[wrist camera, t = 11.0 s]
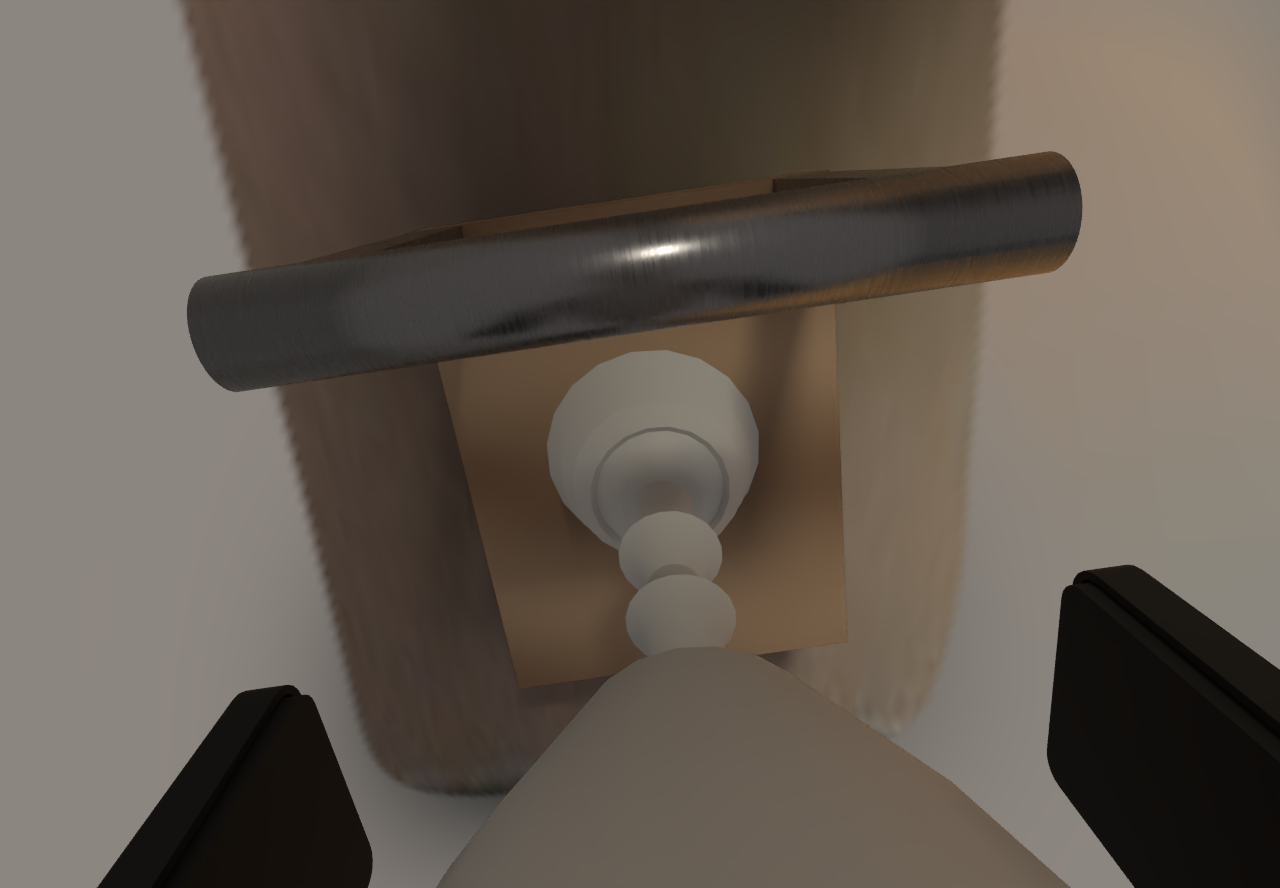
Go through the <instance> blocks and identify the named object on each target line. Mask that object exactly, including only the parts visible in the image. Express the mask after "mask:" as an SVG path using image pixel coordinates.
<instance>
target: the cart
mask: <svg viewBox="0 0 1280 888" xmlns="http://www.w3.org/2000/svg"><path fill="white" fill-rule="evenodd" d="M1081 220H1082V195H1081V189H1080V184H1079V181H1078V177H1077V175H1076V173H1075V170H1074V169H1073V167H1072V165H1071V164H1070V162H1069V161H1068V160H1067V159H1066V158H1065V157H1064V156H1062V155H1061V154H1059V153H1056V152H1042V153H1036V154H1029V155H1022V156H1016V157H1009V158H1002V159H995V160H988V161H982V162H975V163H968V164H961V165H955V166H947V167H924V168H900V169H877V170H854V171H809V172H802V173H796V174H789V175H782V176H776V177H769V178H762V179H755V180H749V181H742V182H735V183H728V184H722V185H715V186H708V187H702V188H695V189H688V190H681V191H675V192H668V193H661V194H655V195H648V196H641V197H634V198H628V199H621V200H614V201H608V202H601V203H594V204H587V205H581V206H574V207H567V208H560V209H554V210H547V211H540V212H534V213H527V214H520V215H513V216H507V217H500V218H493V219H487V220H480V221H473V222H466V223H460V224H453V225H446V226H440V227H433V228H426V229H421V230H417V231H414V232H410V233H406V234H405V235H402V236H399V237H395V238H391V239H387V240H384V241H380V242H376V243H372V244H368V245H365V246H361V247H357V248H353V249H350V250H346V251H342V252H338V253H334V254H331V255H327V256H323V257H319V258H316V259H312V260H308V261H304V262H300V263H295V264H289V265H282V266H275V267H268V268H262V269H255V270H248V271H241V272H235V273H228V274H221V275H215V276H208V277H204V278H201V279H200V280H198V281H197V282H196V283H195V284H194V286H193V288H192V289H191V292H190V294H189V299H188V305H187V320H188V327H189V333H190V337H191V341H192V344H193V347H194V349H195V352H196V354H197V356H198V358H199V360H200V362H201V364H202V365H203V367H204V368H205V370H206V371H207V373H208V374H209V375H210V376H211V377H212V379H213V380H215V382H217V383H218V384H219V385H220V386H222V387H223V388H225V389H227V390H230V391H233V392H239V391H247V390H253V389H260V388H267V387H274V386H281V385H288V384H294V383H301V382H308V381H315V380H322V379H329V378H335V377H342V376H349V375H356V374H363V373H369V372H376V371H383V370H390V369H397V368H403V367H410V366H417V365H424V364H431V363H437V364H438V368H439V372H440V376H441V380H442V384H443V387H444V391H445V395H446V399H447V403H448V407H449V411H450V415H451V419H452V423H453V427H454V431H455V435H456V439H457V443H458V447H459V451H460V455H461V459H462V463H463V467H464V471H465V475H466V479H467V483H468V487H469V491H470V495H471V499H472V503H473V507H474V511H475V515H476V519H477V523H478V527H479V531H480V535H481V539H482V543H483V547H484V551H485V555H486V559H487V563H488V567H489V571H490V574H491V578H492V582H493V586H494V590H495V594H496V598H497V602H498V606H499V610H500V614H501V618H502V622H503V626H504V630H505V634H506V638H507V642H508V646H509V650H510V654H511V658H512V662H513V666H514V670H515V674H516V678H517V682H518V686H519V689H522V688H529V687H536V686H543V685H550V684H557V683H564V682H571V681H578V680H585V679H592V678H599V677H606V676H613V675H615V674H617V673H619V672H620V671H622V670H623V669H625V668H626V667H628V666H629V665H631V664H632V663H634V662H635V661H637V660H639V659H642V658H646V657H648V656H647V655H645V654H644V653H643V652H642V651H641V650H640V649H639V648H638V647H637V646H635V645H634V643H633V641H632V640H631V638H630V636H629V634H628V632H627V626H626V613H627V610H628V607H629V603H630V601H631V600H632V599H633V597H634V596H635V595H636V594H637V592H638V591H639V590H637V589H636V588H635V587H634V586H633V585H632V584H631V583H630V582H629V581H628V580H627V579H626V577H625V575H624V573H623V571H622V569H621V567H620V562H619V553H618V552H619V550H617V549H615V548H613V547H612V546H610V545H608V544H606V543H604V542H603V541H601V540H600V539H599V538H598V537H597V535H596V534H594V533H593V532H592V531H591V530H590V529H589V528H588V527H587V526H585V525H584V524H583V523H582V522H581V521H580V520H579V519H578V518H577V517H576V516H575V515H574V513H573V512H572V511H571V510H570V509H569V508H568V507H567V506H566V505H565V504H564V503H563V501H562V499H561V497H560V495H559V493H558V491H557V489H556V486H555V484H554V482H553V480H552V478H551V476H550V469H549V460H548V451H547V441H548V437H549V433H550V429H551V424H552V420H553V416H554V413H555V411H556V410H557V408H558V407H559V405H560V403H561V402H562V400H563V399H564V397H565V396H566V394H567V393H568V391H569V389H570V388H571V386H572V385H573V384H575V383H576V382H577V381H578V380H580V379H581V378H582V377H583V376H585V375H586V374H587V373H588V372H590V371H591V370H592V369H593V368H595V367H596V366H597V365H598V364H601V363H603V362H606V361H609V360H611V359H614V358H617V357H619V356H622V355H624V354H627V353H630V352H640V351H658V350H668V351H672V352H676V353H680V354H684V355H687V356H691V357H695V358H699V359H701V360H703V361H704V362H706V363H707V364H709V365H710V366H712V367H714V368H715V369H717V370H718V371H720V372H721V373H723V374H724V375H726V376H728V377H729V379H730V380H731V381H732V382H733V384H734V385H735V386H736V387H737V389H738V390H739V391H740V392H741V394H742V395H743V396H744V397H745V399H746V400H747V401H748V403H749V405H750V408H751V411H752V414H753V417H754V420H755V423H756V426H757V429H758V432H759V453H758V465H757V468H756V471H755V474H754V477H753V480H752V482H751V485H750V488H749V491H748V493H747V494H746V495H745V497H744V498H743V501H742V503H741V505H740V506H739V507H738V508H737V511H736V514H735V515H734V517H733V518H732V519H731V521H730V522H729V523H728V525H727V526H726V527H725V528H724V530H723V531H722V532H721V534H719V535H718V536H717V537H718V539H719V542H720V544H721V546H722V563H721V566H720V569H719V572H718V574H717V575H716V577H715V578H714V579H713V581H712V583H714V584H716V585H718V586H719V587H720V588H721V589H722V590H723V591H724V592H725V593H726V594H727V595H728V596H729V597H730V599H731V601H732V604H733V606H734V608H735V610H736V627H735V629H734V632H733V635H732V638H731V639H730V641H729V642H728V643H727V644H726V645H725V647H724V648H727V649H731V650H736V651H741V652H745V653H750V654H755V655H760V654H767V653H774V652H781V651H789V650H796V649H803V648H810V647H817V646H824V645H831V644H838V643H845V642H847V620H846V593H845V566H844V539H843V512H842V485H841V458H840V431H839V404H838V377H837V350H836V322H835V304H839V303H845V302H852V301H859V300H866V299H873V298H879V297H886V296H893V295H900V294H907V293H913V292H920V291H927V290H934V289H941V288H947V287H954V286H961V285H968V284H975V283H981V282H988V281H995V280H1001V279H1008V278H1015V277H1022V276H1029V275H1035V274H1042V273H1049V272H1052V271H1055V270H1056V269H1058V268H1059V267H1060V266H1062V265H1063V263H1064V262H1065V261H1066V260H1067V259H1068V257H1069V256H1070V254H1071V253H1072V251H1073V249H1074V247H1075V244H1076V242H1077V238H1078V235H1079V231H1080V227H1081Z"/></svg>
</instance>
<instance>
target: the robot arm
mask: <svg viewBox="0 0 1280 888" xmlns="http://www.w3.org/2000/svg"><path fill="white" fill-rule="evenodd" d="M1047 759H1048V763H1049V767H1050V770H1051V772H1052V775H1053V777H1054V779H1055V780H1056V782H1057V783H1058V785H1059V787H1060V788H1061V789H1062V791H1063V792H1064V793H1065V795H1066V796H1067V797H1068V799H1069V800H1070V802H1071V803H1072V804H1073V806H1074V807H1075V808H1076V810H1077V811H1078V812H1079V814H1080V815H1081V816H1082V818H1083V819H1084V820H1085V821H1086V823H1087V824H1088V826H1089V827H1090V828H1091V830H1092V831H1093V832H1094V834H1095V835H1096V836H1097V838H1098V839H1099V840H1100V842H1101V843H1102V844H1103V846H1104V847H1105V848H1106V850H1107V851H1108V852H1109V854H1110V855H1111V857H1113V859H1114V861H1115V862H1116V863H1117V865H1118V866H1119V867H1120V869H1121V870H1122V871H1123V873H1124V874H1125V875H1126V877H1127V878H1128V879H1129V881H1130V882H1131V883H1132V885H1133V886H1134V887H1135V888H1280V670H1279V669H1278V668H1277V667H1275V666H1274V665H1272V664H1271V663H1270V662H1268V661H1267V660H1266V659H1264V658H1263V657H1261V656H1260V655H1259V654H1257V653H1256V652H1254V651H1253V650H1252V649H1250V648H1249V647H1248V646H1246V645H1245V644H1244V643H1242V642H1240V641H1239V640H1238V639H1237V638H1235V637H1234V636H1232V635H1231V634H1230V633H1228V632H1227V631H1226V630H1224V629H1223V628H1222V627H1220V626H1219V625H1217V624H1216V623H1215V622H1213V621H1212V620H1211V619H1209V618H1208V617H1207V616H1205V615H1204V614H1202V613H1201V612H1200V611H1198V610H1197V609H1195V608H1194V607H1193V606H1191V605H1190V604H1189V603H1187V602H1186V601H1184V600H1183V599H1182V598H1180V597H1179V596H1178V595H1176V594H1175V593H1174V592H1172V591H1171V590H1169V589H1168V588H1167V587H1165V586H1164V585H1163V584H1161V583H1160V582H1158V581H1157V580H1156V579H1154V578H1153V577H1151V576H1150V575H1149V574H1147V573H1146V572H1145V571H1143V570H1142V569H1140V568H1138V567H1136V566H1134V565H1122V566H1115V567H1108V568H1101V569H1094V570H1087V571H1082V572H1080V573H1078V574H1077V575H1076V577H1075V578H1074V581H1073V585H1069V586H1067V587H1066V588H1065V589H1064V591H1063V593H1062V598H1061V609H1060V620H1059V630H1058V641H1057V651H1056V661H1055V671H1054V682H1053V692H1052V703H1051V713H1050V723H1049V735H1048V744H1047ZM372 859H373V858H372V850H371V847H370V844H369V841H368V838H367V836H366V833H365V831H364V828H363V826H362V823H361V821H360V818H359V815H358V813H357V810H356V808H355V805H354V803H353V800H352V797H351V795H350V792H349V790H348V787H347V784H346V782H345V779H344V777H343V774H342V771H341V769H340V766H339V764H338V761H337V759H336V756H335V753H334V751H333V748H332V746H331V743H330V741H329V738H328V735H327V733H326V730H325V728H324V725H323V723H322V720H321V718H320V715H319V712H318V710H317V707H316V705H315V702H314V701H313V699H312V698H311V697H310V696H309V695H301V694H300V692H299V690H298V689H297V688H295V687H294V686H291V685H284V686H276V687H269V688H263V689H256V690H249V691H244V692H242V693H240V694H238V695H237V696H236V697H235V698H234V699H233V700H232V702H231V703H230V705H229V706H228V707H227V709H226V710H225V712H224V713H223V714H222V716H221V717H220V719H219V720H218V721H217V723H216V724H215V726H214V727H213V728H212V730H211V731H210V732H209V734H208V735H207V736H206V738H205V739H204V740H203V742H202V743H201V745H200V746H199V748H198V749H197V750H196V752H195V753H194V754H193V756H192V757H191V758H190V760H189V761H188V763H187V764H186V765H185V767H184V768H183V770H182V771H181V772H180V774H179V775H178V776H177V778H176V779H175V781H174V782H173V783H172V785H171V786H170V788H169V789H168V790H167V792H166V793H165V794H164V796H163V797H162V799H161V800H160V801H159V803H158V804H157V806H156V807H155V808H154V810H153V811H152V813H151V814H150V815H149V817H148V818H147V819H146V821H145V822H144V824H143V825H142V826H141V828H140V829H139V830H138V832H137V833H136V835H135V836H134V837H133V839H132V840H131V841H130V843H129V845H128V846H127V847H126V848H125V850H124V851H123V853H122V854H121V855H120V857H119V858H118V859H117V861H116V862H115V864H114V865H113V866H112V868H111V869H110V871H109V872H108V873H107V875H106V876H105V878H104V879H103V880H102V882H101V883H100V884H99V886H98V887H97V888H368V885H369V882H370V878H371V874H372V862H373V860H372Z"/></svg>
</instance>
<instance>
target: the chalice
mask: <svg viewBox="0 0 1280 888" xmlns="http://www.w3.org/2000/svg"><path fill="white" fill-rule="evenodd" d="M547 451H548V460H549V469H550V476H551V478H552V480H553V482H554V484H555V486H556V489H557V491H558V493H559V495H560V497H561V499H562V501H563V503H564V504H565V505H566V506H567V507H568V508H569V509H570V510H571V511H572V512H573V513H574V515H575V516H576V517H577V518H578V519H579V520H580V521H581V522H582V523H583V524H584V525H585V526H587V527H588V528H589V529H590V530H591V531H592V532H593V533H594V534H596V535H597V537H598V538H599V539H600V540H601V541H603V542H604V543H606V544H608V545H610V546H612V547H613V548H615V549H617V550H619V552H618V553H619V562H620V567H621V569H622V571H623V573H624V575H625V577H626V579H627V580H628V581H629V582H630V583H631V584H632V585H633V586H634V587H635V588H636V589H637V590H639V591H638V592H637V594H636V595H635V596H634V597H633V599H632V600H631V601H630V603H629V607H628V610H627V613H626V626H627V632H628V634H629V636H630V638H631V640H632V641H633V643H634V645H635V646H637V647H638V648H639V649H640V650H641V651H642V652H643V653H644V654H645V655H647V656H648V657H646V658H642V659H639V660H637V661H635V662H634V663H632V664H631V665H629V666H628V667H626V668H625V669H623V670H622V671H620V672H619V673H617V674H615V675H614V676H612V677H611V678H609V679H608V680H606V682H605V683H604V684H603V685H602V686H601V687H600V688H599V690H598V691H597V692H596V693H595V694H594V695H593V697H592V698H591V699H590V700H589V701H588V702H587V703H586V705H585V706H584V707H583V708H582V709H581V710H580V711H579V713H578V714H577V715H576V716H575V717H574V718H573V720H572V721H571V722H570V723H569V724H568V725H567V726H566V728H565V729H564V730H563V731H562V732H561V733H560V735H559V736H558V737H557V738H556V739H555V740H554V741H553V743H552V744H551V745H550V746H549V747H548V748H547V749H546V751H545V752H544V753H543V754H542V755H541V756H540V757H539V759H538V760H537V761H536V762H535V763H534V764H533V766H532V767H531V768H530V769H529V770H528V771H527V772H526V774H525V775H524V776H523V777H522V778H521V779H520V780H519V782H518V783H517V784H516V785H515V786H514V787H513V789H512V790H511V791H510V792H509V793H508V794H507V795H506V797H505V798H504V799H503V800H502V801H501V802H500V804H499V805H498V806H497V807H496V808H495V810H494V811H493V812H492V814H491V815H490V816H489V818H488V819H487V820H486V821H485V823H484V824H483V825H482V826H481V828H480V829H479V830H478V831H477V833H476V834H475V835H474V837H473V838H472V839H471V840H470V842H469V843H468V844H467V845H466V847H465V848H464V849H463V851H462V852H461V853H460V855H459V856H458V857H457V858H456V860H455V861H454V862H453V863H452V865H451V866H450V867H449V869H448V870H447V872H446V874H445V875H444V877H443V878H442V880H441V881H440V883H439V885H438V886H437V888H1070V887H1069V886H1068V885H1067V884H1066V883H1065V882H1064V881H1062V880H1061V879H1060V878H1059V877H1058V876H1057V875H1056V874H1055V873H1053V872H1052V871H1051V870H1050V869H1049V868H1048V867H1047V866H1046V865H1045V864H1043V863H1042V862H1041V861H1040V860H1039V859H1038V858H1037V857H1035V856H1034V855H1033V854H1032V853H1031V852H1030V851H1029V850H1028V849H1026V848H1025V847H1024V846H1023V845H1022V844H1021V843H1020V842H1019V841H1018V840H1016V839H1015V838H1014V837H1013V836H1012V835H1011V834H1010V833H1009V832H1007V831H1006V830H1005V829H1004V828H1003V827H1002V826H1001V825H1000V824H998V823H997V822H996V821H995V820H994V819H993V818H992V817H991V816H989V815H988V814H987V813H986V812H985V811H984V810H983V809H982V808H980V807H979V806H978V805H977V804H976V803H975V802H974V801H973V800H971V799H970V798H969V797H968V796H967V795H966V794H965V793H964V792H962V791H961V790H960V789H959V788H958V787H957V786H956V785H955V784H953V783H952V782H951V781H950V780H948V779H947V778H945V777H944V776H942V775H941V774H939V773H938V772H936V771H935V770H933V769H931V768H930V767H929V766H927V765H926V764H924V763H923V762H921V761H920V760H918V759H917V758H916V757H914V756H913V755H911V754H910V753H908V752H907V751H905V750H904V749H902V748H901V747H899V746H898V745H896V744H895V743H893V742H892V741H890V740H889V739H887V738H886V737H884V736H883V735H881V734H880V733H878V732H877V731H875V730H874V729H872V728H871V727H869V726H868V725H866V724H865V723H863V722H862V721H860V720H859V719H858V718H856V717H855V716H853V715H852V714H850V713H849V712H847V711H846V710H844V709H843V708H841V707H840V706H838V705H837V704H835V703H834V702H832V701H831V700H829V699H828V698H826V697H825V696H823V695H822V694H820V693H819V692H817V691H816V690H814V689H813V688H811V687H810V686H808V685H807V684H805V683H804V682H803V681H801V680H800V679H798V678H797V677H795V676H794V675H792V674H791V673H789V672H788V671H786V670H784V669H782V668H780V667H778V666H776V665H774V664H772V663H770V662H769V661H767V660H765V659H763V658H761V657H759V656H757V655H755V654H750V653H745V652H741V651H736V650H731V649H727V648H724V647H725V645H726V644H727V643H728V642H729V641H730V639H731V638H732V635H733V632H734V629H735V627H736V610H735V608H734V606H733V604H732V601H731V599H730V597H729V596H728V595H727V594H726V593H725V592H724V591H723V590H722V589H721V588H720V587H719V586H718V585H716V584H714V583H712V581H713V579H714V578H715V577H716V575H717V574H718V572H719V569H720V566H721V563H722V546H721V544H720V542H719V539H718V537H717V536H718V535H719V534H721V532H722V531H723V530H724V528H725V527H726V526H727V525H728V523H729V522H730V521H731V519H732V518H733V517H734V515H735V514H736V511H737V508H738V507H739V506H740V505H741V503H742V501H743V498H744V497H745V495H746V494H747V493H748V491H749V488H750V485H751V482H752V480H753V477H754V474H755V471H756V468H757V465H758V453H759V432H758V429H757V426H756V423H755V420H754V417H753V414H752V411H751V408H750V405H749V403H748V401H747V400H746V399H745V397H744V396H743V395H742V394H741V392H740V391H739V390H738V389H737V387H736V386H735V385H734V384H733V382H732V381H731V380H730V379H729V377H728V376H726V375H724V374H723V373H721V372H720V371H718V370H717V369H715V368H714V367H712V366H710V365H709V364H707V363H706V362H704V361H703V360H701V359H699V358H695V357H691V356H687V355H684V354H680V353H676V352H672V351H668V350H658V351H640V352H630V353H627V354H624V355H622V356H619V357H617V358H614V359H611V360H609V361H606V362H603V363H601V364H598V365H597V366H596V367H595V368H593V369H592V370H591V371H590V372H588V373H587V374H586V375H585V376H583V377H582V378H581V379H580V380H578V381H577V382H576V383H575V384H573V385H572V386H571V388H570V389H569V391H568V393H567V394H566V396H565V397H564V399H563V400H562V402H561V403H560V405H559V407H558V408H557V410H556V411H555V413H554V416H553V420H552V424H551V429H550V433H549V437H548V441H547Z"/></svg>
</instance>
